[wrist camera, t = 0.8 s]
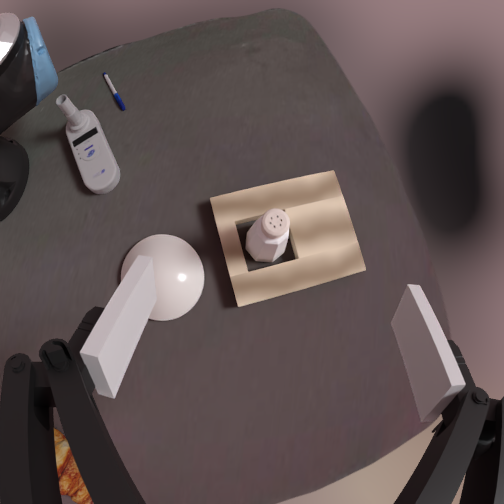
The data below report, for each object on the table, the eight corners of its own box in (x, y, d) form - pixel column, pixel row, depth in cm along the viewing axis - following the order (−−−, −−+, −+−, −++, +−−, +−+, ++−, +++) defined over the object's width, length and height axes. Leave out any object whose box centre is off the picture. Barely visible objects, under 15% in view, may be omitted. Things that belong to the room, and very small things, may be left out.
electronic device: (66, 179, 33) (42, 98, 34) (95, 202, 42) (68, 128, 43) (103, 155, 33) (73, 77, 34) (126, 183, 43) (95, 111, 44)
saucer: (115, 247, 41) (113, 246, 40) (193, 226, 42) (192, 224, 41) (133, 328, 39) (131, 328, 38) (214, 308, 40) (213, 309, 39)
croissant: (22, 397, 39) (-12, 414, 32) (34, 379, 36) (-6, 398, 28) (97, 497, 37) (68, 521, 29) (122, 495, 33) (90, 525, 26)
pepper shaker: (278, 217, 43) (293, 189, 32) (291, 256, 42) (311, 240, 31) (239, 229, 42) (240, 203, 31) (251, 269, 41) (257, 256, 30)
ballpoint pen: (127, 109, 44) (126, 105, 43) (122, 112, 44) (121, 108, 43) (106, 73, 45) (104, 70, 45) (101, 76, 45) (100, 72, 44)
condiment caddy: (211, 202, 42) (209, 198, 40) (329, 175, 44) (333, 170, 42) (238, 306, 40) (238, 306, 38) (360, 271, 42) (366, 269, 40)
